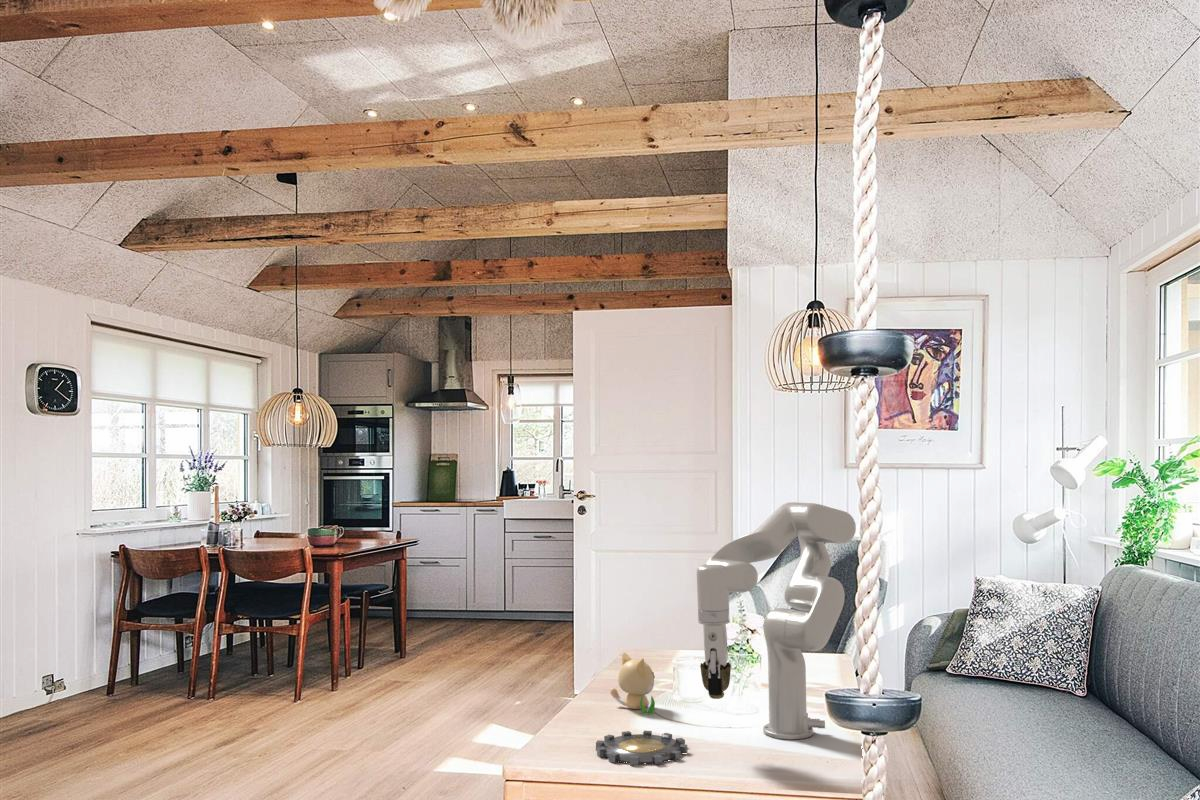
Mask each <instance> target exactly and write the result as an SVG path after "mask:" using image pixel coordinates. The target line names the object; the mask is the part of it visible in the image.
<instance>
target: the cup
mask: <svg viewBox="0 0 1200 800" xmlns="http://www.w3.org/2000/svg"><path fill="white" fill-rule="evenodd" d="M716 665H718V663H716ZM731 665H732V664H731V663H730V662H729V661H727V664H726V666H723V665H720V666H721V667H720V678H722V695H709V694H708V696H709V698H710V699H714V700H715V699H716V700H720V699H723V698H724V697H725V691H726V690H727V689H728V688H729V686H730V682H731V672H732V671H731V669H732V666H731ZM699 666H700V667H699V668H700V672H701V673H700V674H701V680H702V684H703V687H704V688H705V690H706V691H708V678H709V666H707V665H706V662H705V661H703V663H702V662H701V663H700V665H699ZM716 669H717V670H718V668H716Z"/></svg>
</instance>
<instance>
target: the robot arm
mask: <svg viewBox="0 0 1200 800" xmlns="http://www.w3.org/2000/svg"><path fill="white" fill-rule="evenodd" d="M856 529H857V526H856V522H855V519H854V517H853V516H852V515H851V514H850V513H848V512H847V511H845V510H841V509H837V508H834V507H830V506H826V505H825V504H824V505H823V504H819V503H813V502H812V503H811V502H797V501H796V502H786V503H783V504H782V505H780V506H779V507H778V508H777V509H776V510H775V511H774V512H772V514H771V515H770V516H768V518H767V519H766V520H765V521H763V522H762V523H761V524H760V525H759V527H757V528H756V529H755V530H753V531H752V532H749V533H747V534H745V535H742V536H741V537H738V538H736V539H734V540H731V541H730V542H727V543H726V544H724V545H723V546H721V547H720V548H719V549H718V550H717V551H716V552H715V553H713V555H711V557H709V559H708V560H707V561H706V562H705V564H701V565H700V566H698V567H697V568H696V586H697V587H696V591H697V616H698V617H697V619H698V624H700V625H703V626H702V627H703V647H704V659H705V660H704V662H706V665H707V666H709V678H708V690H707V694H708V696H709V695H722V678H720V667H721V666H720V665H723V666H726V664H727V663H728V662H729V661H728V660H729V654H728V653H729V651H728V633H727V625H728V624H729V623H730V622H731V621H730V620H731V619H730V603H729V602H730V600H729V599H730V597H729V596H730V595H729V594H730V593H746V592H749V591H751V590H753V589H754V588H755V586H756V585H757V583H758V581H759V579H758V578H759V574H758V571H757V569H756V566H754V565H753V564H754V563H758V562H763V561H767V560H771V559H773V558H777V557H778V556H779V555H780V554H781V553H782V552H783V551H784V550H786V548H787V547H788V546H789V545H790V544H791V543H792V542H793V540H794V541H795V539H796V538H797V537H798V539H797V540H798V542H799V547H800V556H799V559H798V561H797V564H796V566H795V568H794V570H793V572H792V574H791V577H790V578H789V581H788V583H787V585H786V588H785V591H784V601H785V602H786V604H787V606H789V607H791V608H787V607H786V608H784V607H782V608H781V607H780V608H775V609H772V610H770V611H769V612H768V613H767V614H766V616H765V618H764V620H763V624H762V626H763V627H762V628H763V629H762V630H763V635H764V639H765V644H766V651H767V668H768V671H767V672H768V673H767V674H768V675H767V676H768V677H767V679H768V680H767V681H768V712H769V713H768V715H769V716H768V718H769V719H768V723H766V724H764V726H763V727H762V728H763V729H762V732H763V733H764V735H767V736H769V737H771V738H775V739H780V740H802V739H807V738H811V737H812V736H813V734H814V728H817V729H826V721H825V720H821V719H820V718H811V717H809V716H808V715H809V714H808V711H807V679H806V677H807V675H806V674H807V673H806V672H807V671H806V670H807V669H806V660H805V657H804V655H803V653H802V651H808V652H818V651H821V650H822V649H823V648H824V647H825V646H826V645H827V644H828V643H829V640H830V638H831V636H832V634H833V632H834V629H835V627H836V625H837V622H838V620H839V618H840V615H841V613H842V611H843V609H844V608H843V607H844V604H845V600H846V599H845V590H844V589H845V588H844V586H843V584H842V583H841V582H840V580H838V579H836V578H834V577H831V576H829V574H830V572H831V568H832V560H831V557H830V554H829V552H828V549H827V547H826V544H827V543H828V544H840V545H842V544H843V545H844V544H847V543H849V542H850V541H851V540H852V539H853V538H854V537H855V534H856V531H857V530H856ZM825 543H826V544H825ZM752 563H753V564H752ZM716 663H718V665H716ZM716 668H718V670H717V669H716Z"/></svg>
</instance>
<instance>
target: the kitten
mask: <svg viewBox="0 0 1200 800" xmlns="http://www.w3.org/2000/svg"><path fill="white" fill-rule="evenodd" d="M621 661H622V662H621V663H622V664H621V667H620V670H619V673H618V686H619V688H620V690H622V691H623V692H625V693H626V694H627V695H626V698H625V699H624V698H622V697H621V696H620V694H619V692H618V690H617V689H616V688H615V687H612V688H611V689H610V691H609V693H610V695H611V696H612V698H614V700H616V702H618V703H619V704H621V705H622V706H625V707H627V708H629V709H632V710H642V714H643V715H645V714H646V715H647V714H648V713H649V714H648V715H652V714H654V713H655V703H656V701H655V698H654V697H653V695H650V696H651V697H650V699H651V701H649V699H648V698H647V696H646V695H649V694H651V692H652V691H653V690H654V686H655V673H654V671H653V669H652V668H651V666H650V665H649V664H648V663H647V662H646V661H645V659H644V657H643V658H640V659H632V657H631V656H629V655H628V654H627V653H626V652H622V654H621ZM650 702H651V703H650ZM648 707H649V708H648ZM647 708H648V710H647ZM653 712H654V713H653ZM651 713H652V714H651Z"/></svg>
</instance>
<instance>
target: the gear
mask: <svg viewBox="0 0 1200 800" xmlns="http://www.w3.org/2000/svg"><path fill="white" fill-rule="evenodd" d="M603 739H604V740H597V741H596V742H595V751H596V756H597V755H598V756H597V757H599V758H605V757H606V758H605V759H607V758H608V759H607V760H608V762H609V761H610V762H609V763H612V762H614V763H613V764H617V763H620V762H625V763H624V764H627V763H630V764H629V765H630V766H631V765H654V766H659V765H658V764H662V765H664V763H665V762H664V761H668V760H671V761H672V760H675V761H674V762H677V761H676V760H678V759H680V758H681V759H682V755H683V754H682V753H687V754H688V744H686V740H685V739H684V738H683V737H678V738H677V737H676V738H673V734H672V733H669V732H664V733H662V734H661V735H658V734H653V731H652V730H643V732H642V733H641V734H640V733H639V734H634V733H633V734H632V732H631V731H630V730H628V731H627V730H626V731H621V735H619V736H615V735H612V734H607V735H604V737H603ZM681 754H682V755H681ZM681 759H680V760H681ZM618 761H619V762H618ZM678 761H679V760H678ZM616 762H617V763H616ZM626 762H627V763H626ZM668 762H669V761H668ZM644 763H646V764H644ZM652 763H653V764H652Z"/></svg>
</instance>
